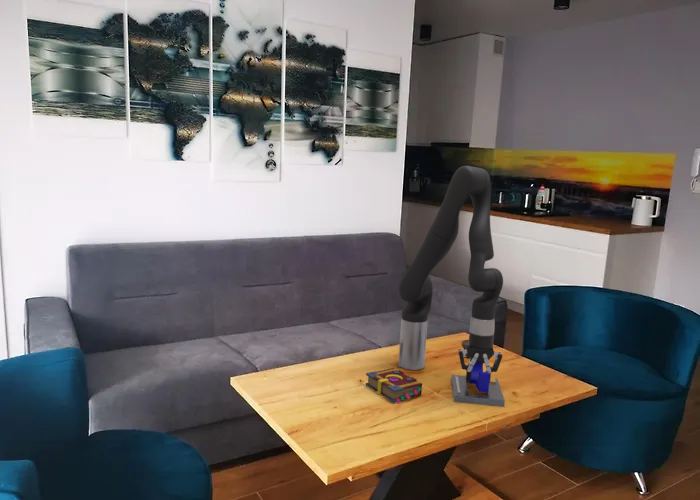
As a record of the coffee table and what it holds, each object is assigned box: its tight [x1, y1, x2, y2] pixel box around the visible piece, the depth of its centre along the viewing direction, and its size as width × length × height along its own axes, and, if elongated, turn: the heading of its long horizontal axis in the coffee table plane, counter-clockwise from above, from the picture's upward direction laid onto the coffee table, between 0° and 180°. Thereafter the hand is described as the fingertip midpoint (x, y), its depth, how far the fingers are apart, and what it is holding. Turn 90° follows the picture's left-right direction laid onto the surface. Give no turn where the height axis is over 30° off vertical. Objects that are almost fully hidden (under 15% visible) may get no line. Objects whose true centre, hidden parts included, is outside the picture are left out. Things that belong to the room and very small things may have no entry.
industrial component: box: [461, 339, 470, 359], centre depth 209 cm, size 9×7×12 cm
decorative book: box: [365, 367, 423, 404], centre depth 174 cm, size 11×16×5 cm
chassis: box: [450, 374, 506, 407], centre depth 176 cm, size 15×17×3 cm
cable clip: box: [470, 362, 490, 393], centre depth 175 cm, size 12×4×6 cm, turn 178°
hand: (477, 382), depth 175 cm, fingers closed on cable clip, 4 cm apart
